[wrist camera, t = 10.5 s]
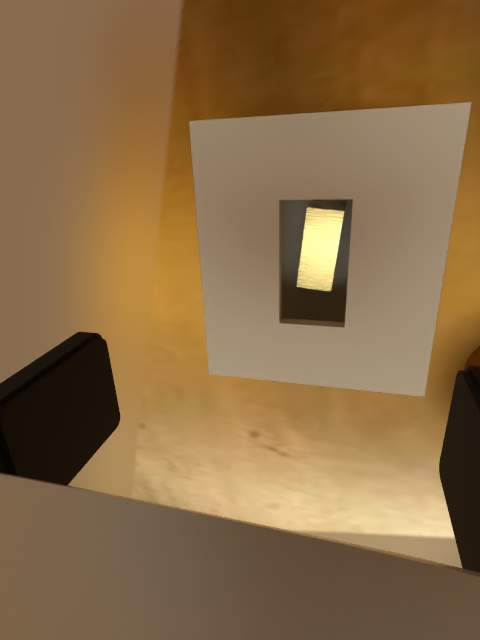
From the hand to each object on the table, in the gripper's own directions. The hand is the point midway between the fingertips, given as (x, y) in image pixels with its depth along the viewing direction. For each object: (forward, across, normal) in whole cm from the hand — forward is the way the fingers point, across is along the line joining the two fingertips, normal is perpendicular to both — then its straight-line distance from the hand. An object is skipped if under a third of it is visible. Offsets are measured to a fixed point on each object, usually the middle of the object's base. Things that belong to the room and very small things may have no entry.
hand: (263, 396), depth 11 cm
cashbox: (+24, 0, 0) cm, 24 cm away
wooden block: (+21, 0, +3) cm, 21 cm away
